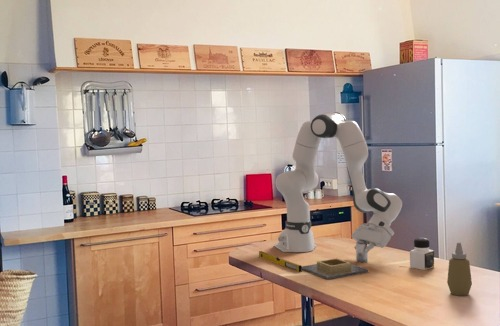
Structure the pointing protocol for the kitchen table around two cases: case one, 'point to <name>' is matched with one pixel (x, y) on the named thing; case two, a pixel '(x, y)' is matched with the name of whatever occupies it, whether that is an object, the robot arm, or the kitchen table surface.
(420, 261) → the medicine bottle
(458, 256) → the squeeze bottle
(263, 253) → the spirit level
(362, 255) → the domed metal canister
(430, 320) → the kitchen table surface
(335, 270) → the collar plate
